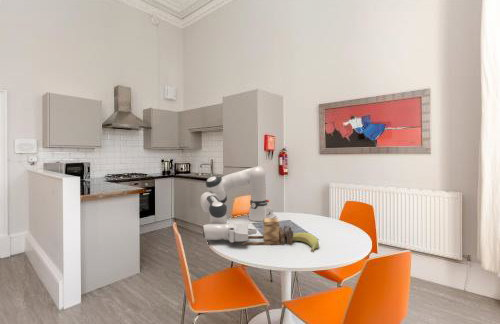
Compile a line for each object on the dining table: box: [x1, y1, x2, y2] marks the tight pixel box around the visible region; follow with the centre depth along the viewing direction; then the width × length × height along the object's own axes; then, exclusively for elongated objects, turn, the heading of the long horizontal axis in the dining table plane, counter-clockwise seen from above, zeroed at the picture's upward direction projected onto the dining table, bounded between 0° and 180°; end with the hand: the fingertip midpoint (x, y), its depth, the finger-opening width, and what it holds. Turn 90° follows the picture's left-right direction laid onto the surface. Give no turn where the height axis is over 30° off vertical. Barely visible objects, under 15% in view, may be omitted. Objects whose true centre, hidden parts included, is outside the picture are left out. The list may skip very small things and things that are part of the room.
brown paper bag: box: [262, 217, 280, 242], centre depth 147 cm, size 8×8×12 cm
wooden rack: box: [241, 225, 294, 246], centre depth 146 cm, size 28×12×10 cm, turn 91°
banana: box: [293, 232, 320, 253], centre depth 140 cm, size 14×6×20 cm
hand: (256, 231), depth 146 cm, fingers closed
